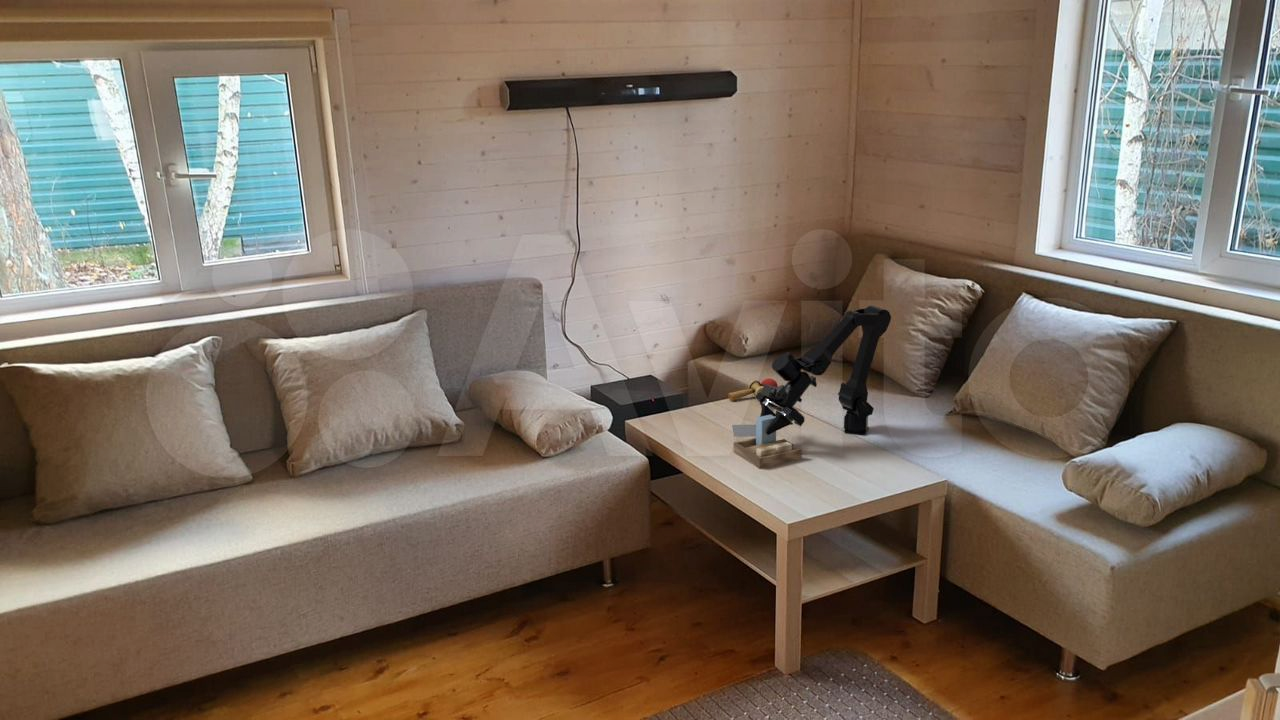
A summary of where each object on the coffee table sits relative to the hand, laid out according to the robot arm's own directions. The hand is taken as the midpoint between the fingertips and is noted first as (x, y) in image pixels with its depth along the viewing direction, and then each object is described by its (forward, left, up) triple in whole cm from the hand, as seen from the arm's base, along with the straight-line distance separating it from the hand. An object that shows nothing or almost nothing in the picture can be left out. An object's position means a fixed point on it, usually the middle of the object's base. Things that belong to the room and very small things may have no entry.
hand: (762, 431), depth 282 cm
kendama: (+16, -46, -7) cm, 49 cm away
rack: (-3, +3, -7) cm, 8 cm away
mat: (+8, -14, -7) cm, 17 cm away
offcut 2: (-7, +5, -6) cm, 10 cm away
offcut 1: (-4, +9, -6) cm, 11 cm away
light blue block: (-1, -1, -6) cm, 6 cm away
